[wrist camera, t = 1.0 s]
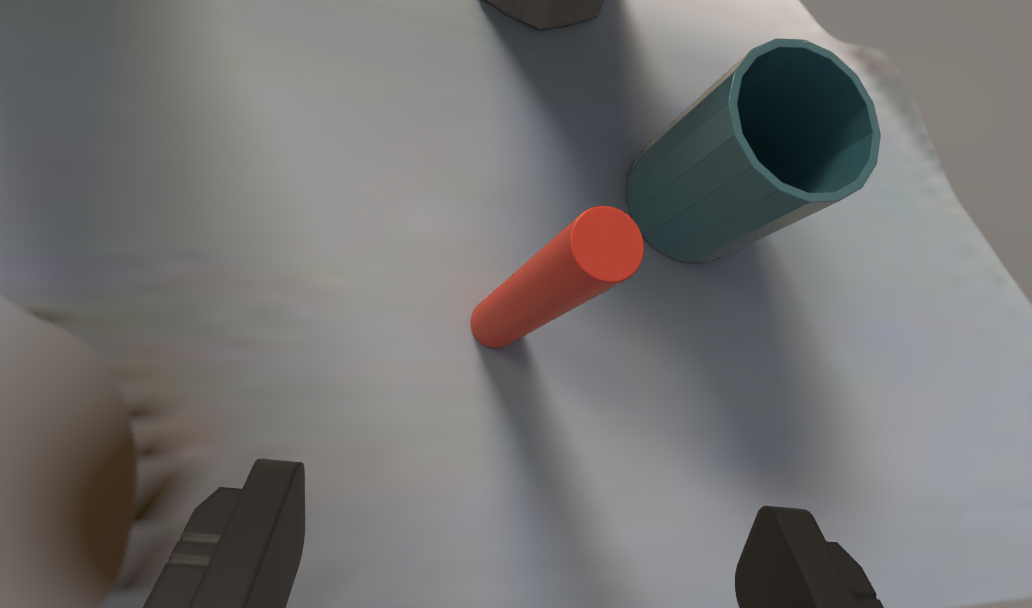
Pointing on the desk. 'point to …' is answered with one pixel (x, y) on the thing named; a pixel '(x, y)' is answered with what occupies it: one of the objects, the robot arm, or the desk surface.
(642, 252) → the red cylindrical rod
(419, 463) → the desk surface
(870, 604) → the robot arm
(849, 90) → the cup
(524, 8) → the coffeepot
